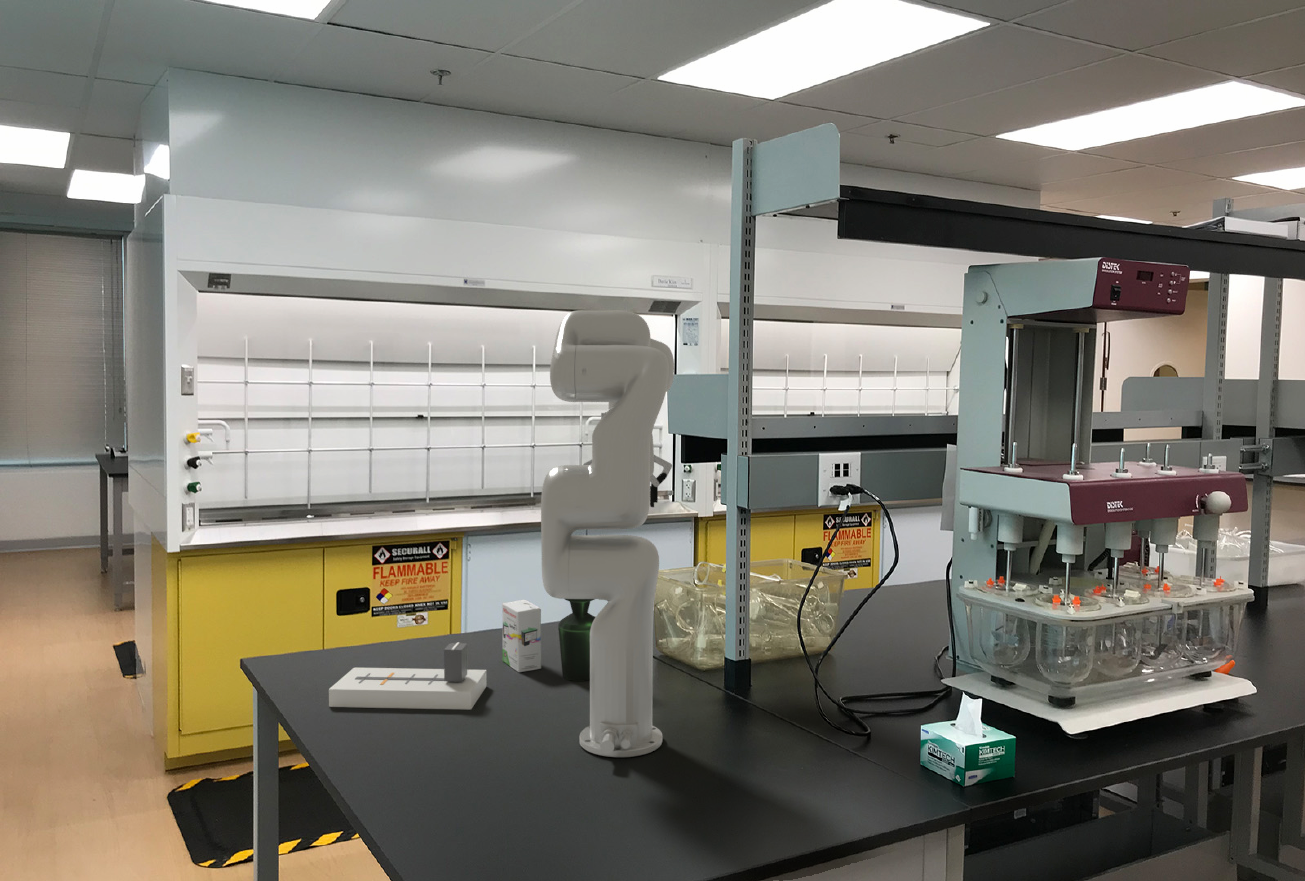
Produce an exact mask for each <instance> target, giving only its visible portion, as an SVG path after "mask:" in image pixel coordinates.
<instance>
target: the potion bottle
mask: <svg viewBox="0 0 1305 881" xmlns="http://www.w3.org/2000/svg"><path fill="white" fill-rule="evenodd" d="M595 600H596V599H564V601H567V602H569V605H570V609H571V612H572V613H570V614H568V615H567V616H565V617H563V618H562V619H560V621H559V623H558V624H557V629H558V639H559V649H560V650H559V651H560V662H561V673H562V677H563V678H564V679H566V680H569V681H574V682H581V681H582V682H583V681H590V629H591V625H592V623H593V621H594V619H595V617H596V616H594V615H592V614H591V613H589V608H590V604H591V602H592V601H595Z"/></svg>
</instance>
